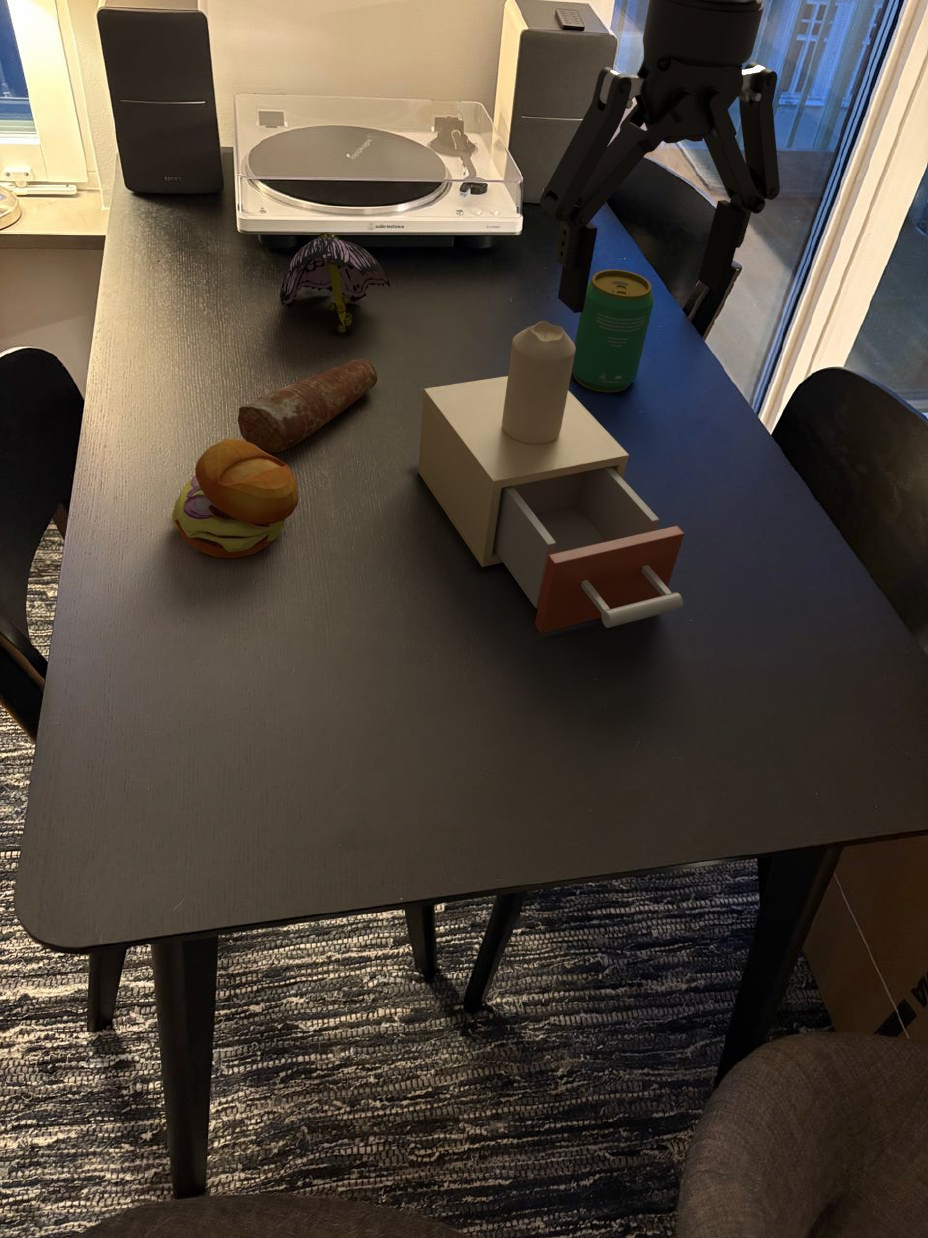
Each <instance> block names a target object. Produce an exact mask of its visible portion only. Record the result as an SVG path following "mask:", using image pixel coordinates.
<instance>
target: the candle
mask: <svg viewBox="0 0 928 1238" xmlns="http://www.w3.org/2000/svg"><path fill="white" fill-rule="evenodd" d="M575 349H576V348H575V342H574V341H573V340H572V338H570V336H569V335H568V334H567V332H565V330H564V328H563V327H562V326H560V325H553V324H551V323H550V322H548V321H547V320H541V321H538V322H537V323H536V324H534V325H530V326H528V327H527V328H525V329H523V330H521V331H520V332H518V333H517V334H516V335H515V336H513V338H512V344H511V351H510V357H509V366H508V372H507V376H508V380H507V387H506V395H505V402H504V410H503V418H502V427H503V430H504V431H505V433H506V434H507V435H508V436H510V437H511V438H513V439H515V440H517V441H520V442H523V443H528V444H544V443H548V442H551V441H553V440H555V439H556V438H557V437H558V435H559V433H560V430H561V426H562V421H563V415H564V410H565V404H566V399H567V393H568V390H569V387H570V382H571V376H572V373H573V371H572V366H573V361H574V355H575Z"/></svg>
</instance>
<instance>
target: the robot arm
mask: <svg viewBox="0 0 928 1238" xmlns="http://www.w3.org/2000/svg"><path fill="white" fill-rule="evenodd" d="M764 9H765V5H764V4H763V0H649V1H648V7H647V11H646V12H647V13H646V16H645V17H646V18H645V23H644V28H643V34H642V47H643V59H642V62H641V65H640V66H639V68H638V71H637V73H636V74H628V73H621V72H619V71H617V70H615V69H613V68H612V67H610V66H606V67H603V68H602V69H601V70H600V71H599V73H598V76H597V79H596V83H595V88H594V91H593V95H592V96H593V97H592V100H591V103H590V105H589V107H588V108H587V110H586V113H585V114H584V116H583V118H582V120H581V122H580V124H579V125H578V127H577V129H576V131H575V133H574V134H573V136H572V139H571V140H570V142H569V144H568V146H567V148H566V149H565V151H564V153H563V156H561V159H560V161H559V163H558V164H557V166H556V168H555V170H554V172H553V174H552V175H551V177H550V179H549V181H548V183H547V185H546V186H545V189H544V190H543V192H542V194H541V196H540V198H539V205H540V207H541V208H542V209H543V210H545V211H546V212H547V213H548V214H550V216H552V218H555V219H556V220H557V221H559V222H560V227H559V235H558V242H557V247H556V254H555V255H556V260H557V262H558V263H560V264H561V266H562V268H561V274H560V281H559V288H558V293H557V299H559V301H561V303H563V304H564V305H565V306H566V307H567V308H568V309H569V310H570V311H572V312H573V313H574V314H580V312H583V309H584V303H585V297H586V292H587V286H588V283H589V281H590V280H589V279H590V274H591V269H592V263H593V257H594V251H595V246H596V241H597V235H598V226H596V225H595V224H593V223H591V221H592V220H593V218H595V216H596V214H597V213H598V212H599V211H600V210H601V209H602V208H603V206H604V205H605V204H606V203H607V202H608V200H609V199H610V198H611V196H613V194H614V193H615V192H616V191H617V189H618V188H619V187H620V186H621V185H622V183H624V182H625V180H626V179H627V178H628V177H629V175H630V174H631V172H633V170H634V169H635V168H636V166H637V165H639V163H640V162H641V161H642V160H643V158H644V157H645V156H646V155H647V154H649V153H652V152H654V151H656V149H657V148H658V147H659V146H660V144H661V143H662V142H663V143H665V144H666V145H667V144H677V143H679V142H683V141H685V140H686V141H690V142H694V143H695V142H696V143H697V142H703V141H704V143H705V146H706V149H707V151H708V152H709V155H710V157H711V159H712V162H713V164H714V167H715V169H716V171H717V173H718V176H719V178H720V181H721V183H722V185H723V187H724V189H725V192H726V194H727V197H728V198H729V199H730V200H729V201H728V200H726V199H721V200H717V203H716V208H715V210H714V215H713V219H712V222H711V226H710V230H709V234H708V239H707V242H706V246H705V250H704V254H703V257H702V261H701V266H700V269H699V274H698V277H697V280H698V281H699V282H700V283H702V284H703V285H704V286H706V287H707V288H709V289H710V290H711V291H712V292H714V293H716V294H722V293H725V290H726V286H727V282H728V280H729V277H730V272H731V270H732V269H731V268H732V265H733V262H734V258H735V255H736V251H737V249H740V248H741V246H742V244H743V243H744V242H745V241H744V240H745V236H746V234H747V229H748V227H749V223H750V220H751V216H752V213H753V214H754V215H758V214H760V213H762V211H763V210H764V209H765V206H766V199H767V200H769V201H772V200H775V199H776V198H777V197H778V196H779V194H780V191H781V186H780V175H779V163H778V162H779V161H778V151H777V140H776V128H775V117H774V107H773V106H774V99H775V93H776V89H777V84H778V76H779V75H778V73H777V72H776V71H775V70H772V69H770V68H768V67H766V66H763V65H761V64H759V63H757V62H755V61H751V62H748V61H749V60H750V59H751V57H752V54H753V52H754V48H755V44H756V40H757V36H758V32H759V28H760V24H761V20H762V16H763V14H764V13H763V12H764ZM747 62H748V63H747ZM746 63H747V64H746ZM744 64H746V65H745V67H744V69H743V65H744ZM737 98H738V105H739V106H738V108H739V118H740V125H741V135H742V142H743V143H742V144H743V151H744V156H743V152H742V150H741V148H740V145H739V143H738V140H737V138H736V136H737V134H738V133H737V129H736V127H735V125H734V122H733V120H732V117H731V115H730V112H729V109H730V107H731V106H732V105H733V104H734V102H735V101H736V99H737ZM633 99H634V100H635V102H636V104H635V105H634V106H633V104H634V101H633ZM632 107H633V108H632ZM630 109H631V110H630ZM626 110H630V112H629V113H628V114H627V115H626V116H625V112H626ZM624 116H625V117H624ZM623 118H624V119H623ZM643 125H644V126H645V128H646V130H645V129H643V128H641V127H642V126H643ZM618 128H619V132H618V133H617V134H616V132H617V130H618ZM615 134H616V136H615ZM614 136H615V137H614Z"/></svg>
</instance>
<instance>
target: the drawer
mask: <svg viewBox="0 0 928 1238" xmlns="http://www.w3.org/2000/svg"><path fill="white" fill-rule="evenodd" d="M659 522H660V518H659V517H658V516H657V515H656V514H655V513H654V512H653V510H652V509H651V508H650V507H649V506H648V505H647V504H646V503H645V502H644V501H643V499H642V498H641V497H640V496H639V495H638V494H637V493H636V492H635V491H634V489H632V488H631V486H630V485H629V484H628V483H627V482H626V481H625V480H624V478H623V479H622V478H621V476H620V475H619V474H618V473H617V472H616V471H615V470H614V469H613V468H612V466H610V467H605V468H600V469H594V470H589V471H584V472H579V473H574V474H569V475H564V476H559V477H554V478H549V479H544V480H539V481H534V482H529V483H523V484H518V485H513V486H508V487H503V488H501V495H500V502H499V509H498V516H497V523H496V530H495V537H494V544H493V548H494V550H495V551H496V552H497V554H498V555H499V557H500V558H501V560H502V561H503V562H502V563H503V564H504V566H505V567H506V568H507V570H508V571H509V573H510V574H511V576H512V577H513V578H514V580H515V581H516V582H517V584H518V586H519V587H520V588H521V590H522V591H523V593H524V594H525V596H526V597H527V598H528V600H529V601H530V603H531V604H532V605H533V607H534V608H535V609H536V610H537V612H536V615H535V616H536V617H535V621H534V625H535V627H536V628H537V630H538V631H539V633H540V634H543V633H544V634H545V633H548V632H551V631H555V630H559V629H563V628H566V627H570V626H574V625H578V624H582V623H585V622H589V621H593V620H597V619H601V621H602V624H603V625H604V627H605V628H606V629H607V628H608V629H610V628H614V627H617V626H621V625H625V624H628V623H633V622H637V621H641V620H644V619H648V618H651V617H655V616H658V615H663V614H666V613H670V612H673V611H677V610H681V609H682V608H683V604H684V600H683V597H682V596H681V593H679V592H672V591H671V590H670V588H668V587H669V584H670V581H671V578H672V575H673V572H674V569H675V565H676V562H677V559H678V556H679V553H680V549H681V547H682V543H683V540H684V536H685V532H684V531H683V530H682V529H681V528H680V527H679V526H678V525H674V526H669V527H665V528H661V529H658V526H659Z"/></svg>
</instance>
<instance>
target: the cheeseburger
mask: <svg viewBox="0 0 928 1238" xmlns="http://www.w3.org/2000/svg"><path fill="white" fill-rule="evenodd" d="M194 471H195V475H194V476H193V477H192V478H191V479H190V480H189V481H188V482H187V483H186V484H185V485H184V486H183V488H182V489H181V491H180V493H179V496H178V497H177V498H176V500H175V502H174V503H175V504H174V507H173V509H172V513H171V517H172V518H171V519H172V523H173V524H174V526H175V528H176V530H177V531H178V532H179V535H180V536H181V537H182V539H183V540H184V542H186V543H187V544H189V545H190V546H191V547H193V548H194V549H196V550H197V551H200V552H202V553H204V554H207V555H210V556H211V557H215V558H225V559H239V558H243V557H246V556H249V555H253V554H256V553H258V552H259V551H262V549H265V548H266V547H267V546H269V545H270V544H271V542H272V541H274V540H276V538H278V536H279V534H281V532H282V530H283V529H284V526H285V521H286V519H287V518H289V517H290V516H291V515H293V513H294V511H295V510H296V508H297V507H298V504H299V487H298V482H297V479H296V477H295V476H294V474H293V471H292V469H291V468H290V466H289V465H288V464H287V463H285V462H283V460H281V459H279V458H278V457H276V456H273V455H272V454H269V453H268V452H267V451H264V449H262V448H261V447H259V446H257V445H254V444H252V443H250V442H247V441H246V440H243V439H237V438H225V439H223V440H221V441H219V442H217V443H214V444H212V445H211V446H210V447H208V448H207V449H206V450H205V451H204V452H203V453H202V454H201V455H200V457H199V458H198V459H197V461H196V464H195V469H194Z"/></svg>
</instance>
